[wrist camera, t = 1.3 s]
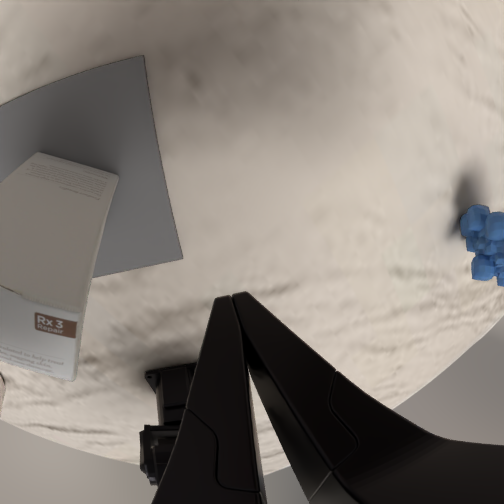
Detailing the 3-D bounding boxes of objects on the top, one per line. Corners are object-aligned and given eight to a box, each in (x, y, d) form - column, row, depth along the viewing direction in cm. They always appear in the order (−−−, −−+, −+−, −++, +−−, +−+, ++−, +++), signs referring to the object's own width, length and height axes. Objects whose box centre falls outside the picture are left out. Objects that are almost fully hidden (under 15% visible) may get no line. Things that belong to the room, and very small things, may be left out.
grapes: (423, 212, 26) (512, 293, 16) (465, 168, 24) (557, 232, 15) (447, 270, 32) (508, 337, 23) (481, 234, 31) (545, 293, 21)
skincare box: (28, 208, 16) (-54, 348, 7) (38, 145, 15) (-80, 259, 5) (108, 231, 19) (75, 391, 9) (125, 170, 17) (81, 315, 8)
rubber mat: (182, 255, 22) (183, 259, 22) (-32, 302, 19) (-33, 305, 19) (143, 55, 14) (143, 55, 14) (-94, 168, 11) (-97, 170, 10)
